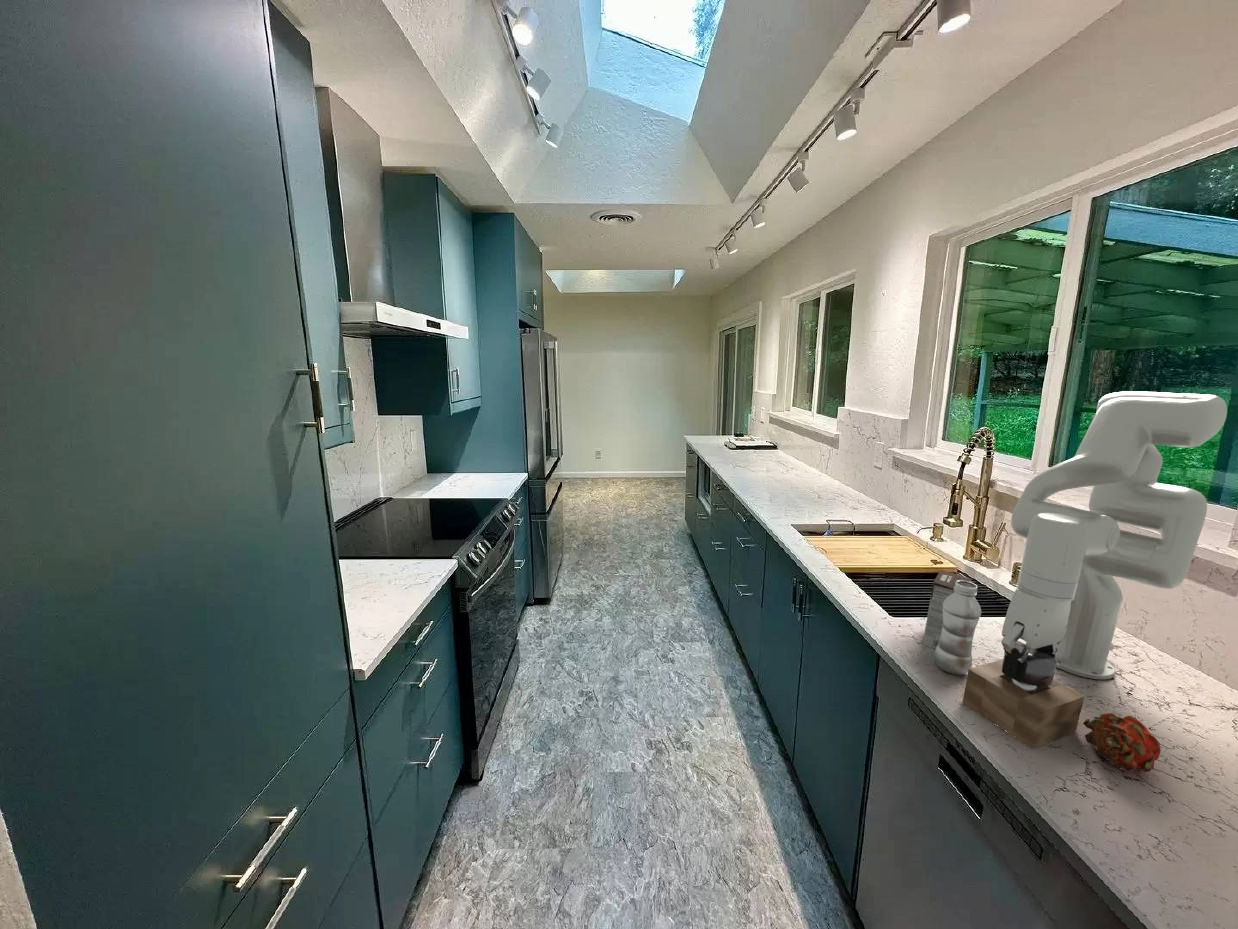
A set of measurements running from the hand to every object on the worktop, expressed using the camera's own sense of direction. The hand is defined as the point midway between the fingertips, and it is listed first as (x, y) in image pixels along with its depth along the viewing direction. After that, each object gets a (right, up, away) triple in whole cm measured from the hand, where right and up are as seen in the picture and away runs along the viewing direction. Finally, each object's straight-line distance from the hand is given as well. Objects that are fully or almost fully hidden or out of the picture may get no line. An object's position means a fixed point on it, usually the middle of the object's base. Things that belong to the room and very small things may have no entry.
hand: (1026, 672), depth 86 cm
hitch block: (0, -9, +2) cm, 9 cm away
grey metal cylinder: (0, -7, +2) cm, 7 cm away
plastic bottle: (-3, -6, +16) cm, 17 cm away
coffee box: (+2, -4, +26) cm, 26 cm away
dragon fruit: (+9, -12, -7) cm, 16 cm away
